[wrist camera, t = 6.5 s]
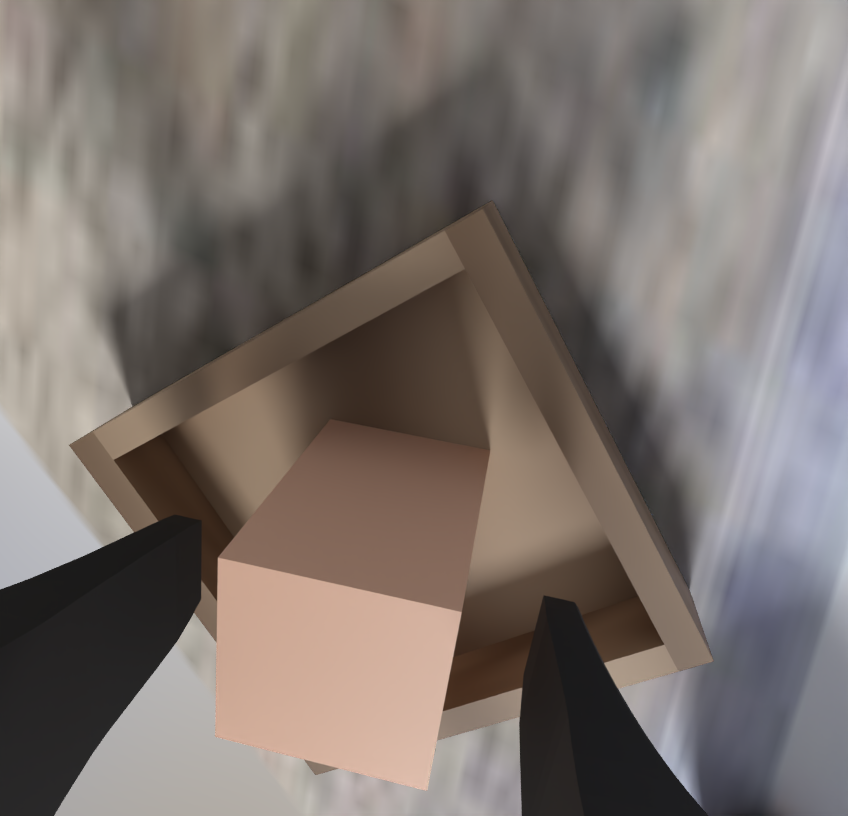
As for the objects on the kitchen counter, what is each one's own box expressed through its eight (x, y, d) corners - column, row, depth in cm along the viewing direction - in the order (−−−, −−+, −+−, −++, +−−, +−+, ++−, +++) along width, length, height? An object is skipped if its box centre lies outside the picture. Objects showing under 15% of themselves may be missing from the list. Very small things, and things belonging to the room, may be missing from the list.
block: (490, 450, 15) (461, 611, 10) (464, 585, 17) (427, 790, 12) (330, 419, 16) (218, 556, 10) (318, 553, 17) (215, 736, 12)
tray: (492, 200, 14) (482, 208, 12) (690, 592, 17) (713, 661, 14) (130, 407, 17) (69, 444, 15) (341, 704, 20) (315, 775, 18)
